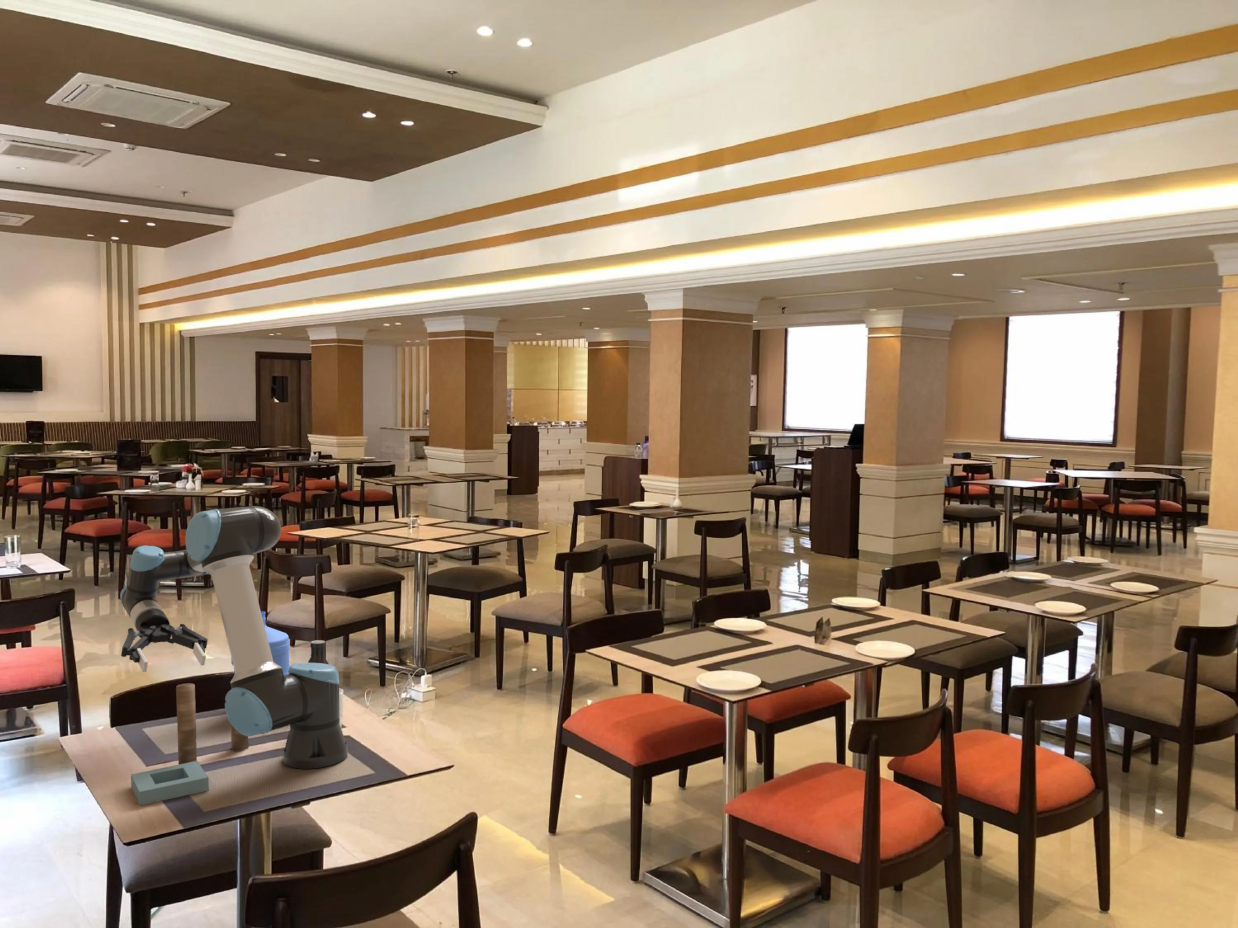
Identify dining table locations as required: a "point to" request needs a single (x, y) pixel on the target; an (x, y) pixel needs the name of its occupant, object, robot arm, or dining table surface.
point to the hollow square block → (169, 782)
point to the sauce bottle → (318, 652)
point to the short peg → (238, 740)
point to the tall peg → (186, 723)
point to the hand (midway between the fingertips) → (175, 663)
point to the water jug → (277, 646)
